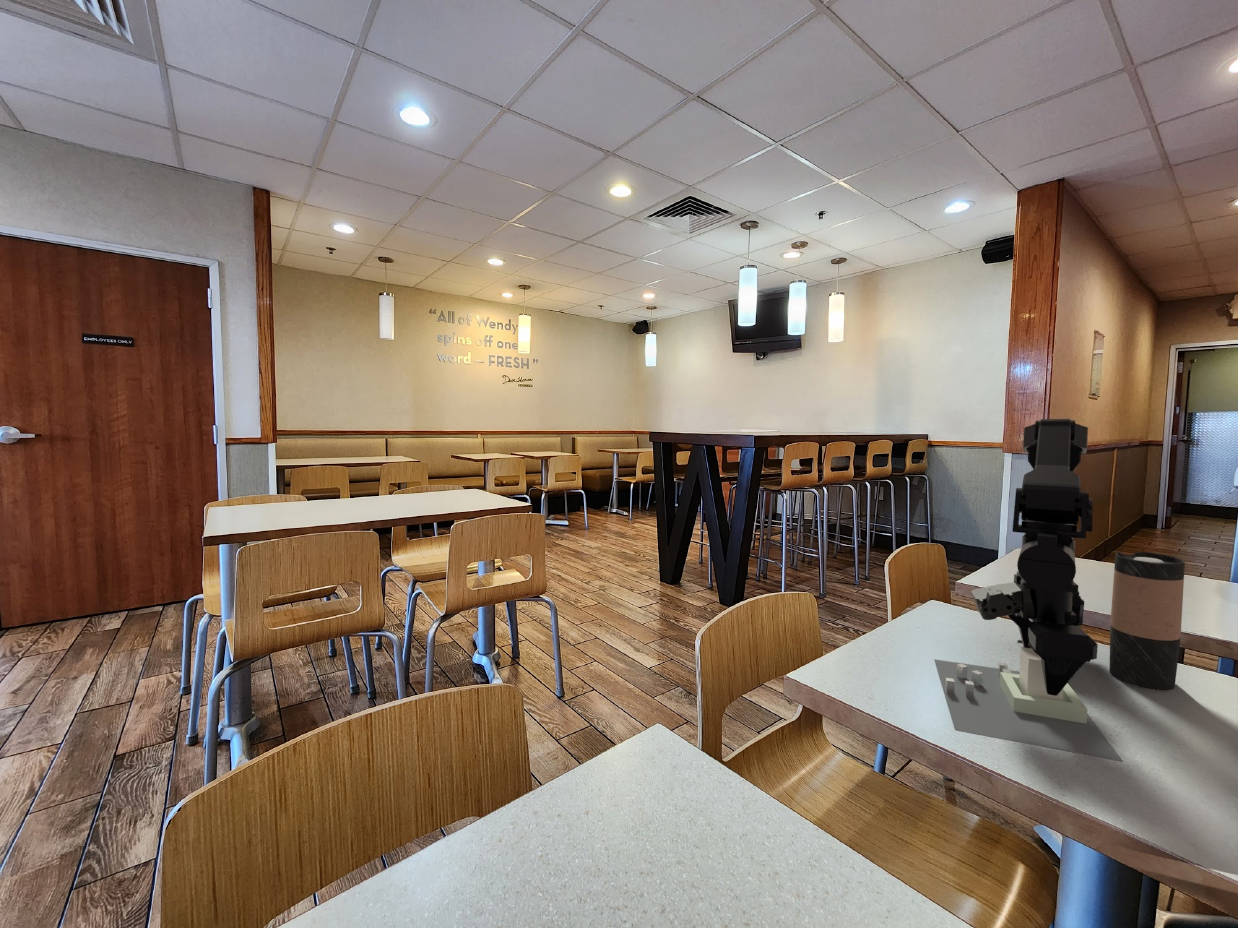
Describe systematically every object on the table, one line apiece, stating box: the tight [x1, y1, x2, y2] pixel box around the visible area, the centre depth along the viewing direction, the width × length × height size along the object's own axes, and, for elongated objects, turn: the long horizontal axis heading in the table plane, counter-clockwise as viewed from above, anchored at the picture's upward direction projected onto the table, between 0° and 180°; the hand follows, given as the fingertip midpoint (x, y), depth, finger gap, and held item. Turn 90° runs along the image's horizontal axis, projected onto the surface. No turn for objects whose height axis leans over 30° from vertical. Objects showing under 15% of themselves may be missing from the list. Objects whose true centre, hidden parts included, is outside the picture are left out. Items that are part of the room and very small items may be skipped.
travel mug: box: [1109, 551, 1186, 692], centre depth 82 cm, size 8×8×20 cm
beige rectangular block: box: [1019, 646, 1063, 701], centre depth 76 cm, size 4×4×7 cm
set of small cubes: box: [946, 661, 1012, 698], centre depth 82 cm, size 10×9×2 cm
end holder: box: [1000, 672, 1088, 724], centre depth 76 cm, size 8×8×2 cm
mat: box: [934, 658, 1124, 762], centre depth 77 cm, size 22×17×1 cm
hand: (1041, 678), depth 76 cm, fingers open, 9 cm apart
